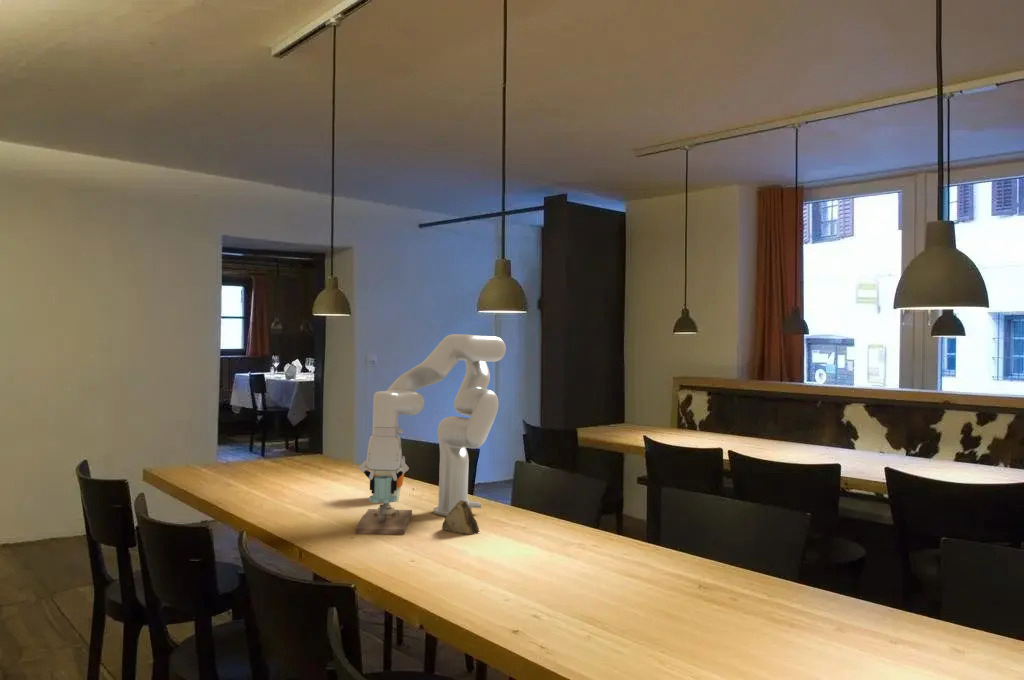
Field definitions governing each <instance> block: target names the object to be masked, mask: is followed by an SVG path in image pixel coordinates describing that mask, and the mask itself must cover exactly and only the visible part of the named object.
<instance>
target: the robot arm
mask: <svg viewBox="0 0 1024 680" xmlns="http://www.w3.org/2000/svg"><path fill="white" fill-rule="evenodd" d="M506 347H507V346H506V344H505V342H504V340H503V339H502V338H501V337H498V336H492V335H477V334H476V335H475V334H463V333H462V334H461V333H459V334H455V333H452V334H448V335H446V336H444V338H443V339H442V340H441V341H440V342H439V343H438V345H437V346H435V348H434V349H433V350H432V351H431V352H430V354H428V356H427V357H426V358H425V359H424V360H423V361H422V362H421V363H419V364H417V365H416V366H414V367H412V368H410V369H409V370H407V371H405V372H404V373H403V374H401V375H400V376H398V377H397V378H396V379H395V380H394V382H392V383H391V385H390V386H389V387H388V388H387V390H385V391H384V390H382V391H381V390H379V391H376V392H374V394H373V400H372V401H373V403H372V404H373V408H372V409H373V410H372V434H371V436H369V440H368V446H367V452H366V453H367V454H366V459H364V461H363V462H362V463H361V464H360V465H359V467H358V469H359V471H361V472H362V473H363V474H364V475H365V476H366V477H367V478H368V480H369V491H371V494H373V493H374V476H375V473H376V470H379V471H391V473H392V476H393V478H392V481H391V493H392V494H394V492H395V491H396V490H397V479H398V478H399V477H400V476H401V475H402V474H404V475H405V473H406V472H408V471H409V469H410V467H409V466H408V465H407V464H406V461H405V462H404V461H403V460H402V456H403V455H402V453H403V452H402V441H401V436H399V435H400V434H403V433H404V432H403V429H402V428H399V415H405V416H414V415H417V414H420V413H421V412H422V410H423V409H424V407H425V398H424V396H423V395H422V394H421V393H420V392H417V391H418V390H420V389H421V388H424V387H427V386H431V385H434V384H438V383H439V382H441V381H443V380H444V379H445V378H446V377H447V375H448V374H449V373H450V372H451V370H452V369H453V368H454V367H455V366H456V365H457V364H458V362H460V361H464V363H465V368H466V371H465V375H464V378H463V380H462V382H461V384H460V387H459V389H458V392H457V394H456V396H455V399H454V403H453V407H454V410H455V412H456V413H458V414H460V415H462V416H456V415H454V416H452V415H451V416H447V417H444V418H443V419H441V421H440V422H439V424H438V427H437V438H438V443H439V445H438V446H439V475H438V477H439V482H438V501H437V503H438V504H437V505H438V506H435V507H434V508H433V513H434V514H436V515H438V516H443V517H446V516H447V515H448V514H449V512H450V511H451V510H452V509H453V508H454V507H455V505H456V504H457V503H458V502H460V501H461V500H463V501H465V502H466V503H467V505H468V506H469V508H470V509H471V511H472V512H473V509H481V508H482V502H481V501H480V502H479V501H476V500H475V501H471V500H469V496H468V493H469V462H470V459H469V453H468V450H467V448H468V449H478V448H480V447H481V446H483V445H484V444H485V442H486V440H487V439H488V435H489V433H490V431H491V429H492V427H493V425H494V422H495V419H496V417H497V414H498V410H499V405H500V404H499V399H498V396H497V394H496V393H495V391H493V390H491V389H488V386H489V383H490V379H491V373H490V369H489V366H488V363H487V362H491V363H495V362H498V361H501V360H502V359H503V358H504V357H505V355H506V349H507V348H506ZM464 416H467V417H464ZM401 466H402V468H403V469H402V470H401V471H399V472H398V473H397V471H396V470H399V469H400V467H401ZM370 472H371V473H370Z"/></svg>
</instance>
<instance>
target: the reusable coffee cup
mask: <svg viewBox="0 0 1024 680" xmlns="http://www.w3.org/2000/svg"><path fill="white" fill-rule="evenodd" d="M402 460H403V461H404V462H405V463H406V457H405V456H404V455H402ZM402 469H403V468H402V466H401V467H400V469H399V470H396V471H397V473H398V472H399V471H401V470H402ZM370 473H371V471H370ZM381 475H382V476H392V473H391V471H379V470H376V473H375V476H381ZM375 476H374V477H375ZM392 477H393V476H392ZM404 477H405V473H404V474H402V475H401V476H400V477H399V478H398V479H397V490H396V491H395V492H394V494H392V496H396V497H397V500H396V501H395V502H398V501H399V500H400V496H401V488H402V487H403V484H404ZM372 495H374V493H372Z"/></svg>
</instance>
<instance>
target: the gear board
mask: <svg viewBox="0 0 1024 680" xmlns="http://www.w3.org/2000/svg"><path fill="white" fill-rule="evenodd" d="M382 503H383V502H382ZM412 515H413V510H412V509H395V507H393V506H392V504H390V502H389V503H383V504H379V507H378V508H368V509H367V510H366V512H365V514H363V517H362V518H361V520H360V521H359V523H358V524H357V525H356V527H355V532H354V533H355V535H356V534H358V535H362V534H363V535H366V534H367V535H405V533H406V530H407V528H408V525H409V523H410V521H411V518H412Z"/></svg>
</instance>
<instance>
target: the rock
mask: <svg viewBox="0 0 1024 680" xmlns="http://www.w3.org/2000/svg"><path fill="white" fill-rule="evenodd" d="M471 509H472V508H471ZM471 509H470V508H469V506H468V505H467V503H466V502H465V501H463V500H461V501H460V502H458V503H457V504H456V505H455V507H454V508H453V509H452V510H451V511H450V512H449V514H448V515H447V516H444V517H445V518H444V520H443V523H442V525H441V529H442V531H443V530H444V531H447V530H449V531H448V532H451V531H455V532H454V533H456V532H459V533H458V534H463V533H465V534H464V535H475V534H474V533H477V534H479V533H478V532H480V528H479V525H478V522H477V520H476V519H475V517H474V514H473V510H472V511H471ZM480 533H481V532H480Z"/></svg>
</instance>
